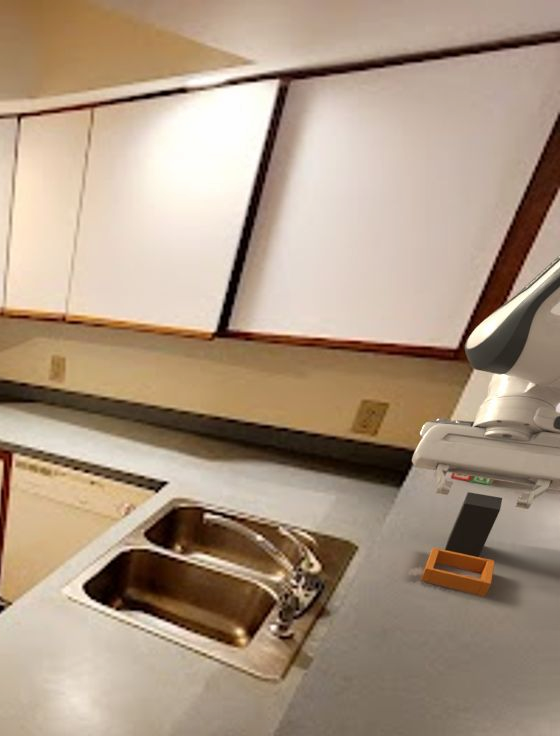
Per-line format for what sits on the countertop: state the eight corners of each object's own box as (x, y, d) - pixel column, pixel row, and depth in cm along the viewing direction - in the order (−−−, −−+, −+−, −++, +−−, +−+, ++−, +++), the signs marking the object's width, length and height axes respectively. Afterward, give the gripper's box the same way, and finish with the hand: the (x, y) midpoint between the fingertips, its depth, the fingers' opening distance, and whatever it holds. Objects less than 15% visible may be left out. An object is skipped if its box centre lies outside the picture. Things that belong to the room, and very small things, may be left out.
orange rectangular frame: (490, 580, 95) (500, 559, 93) (484, 610, 88) (495, 587, 86) (421, 564, 100) (429, 544, 98) (411, 591, 93) (420, 569, 92)
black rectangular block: (477, 553, 102) (502, 497, 98) (474, 567, 99) (500, 509, 94) (444, 546, 105) (467, 491, 100) (440, 559, 101) (464, 503, 97)
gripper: (429, 407, 106) (400, 476, 105) (610, 426, 93) (580, 506, 91) (423, 426, 111) (396, 493, 109) (594, 447, 98) (565, 523, 96)
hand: (481, 499), depth 100 cm, fingers open, 8 cm apart
